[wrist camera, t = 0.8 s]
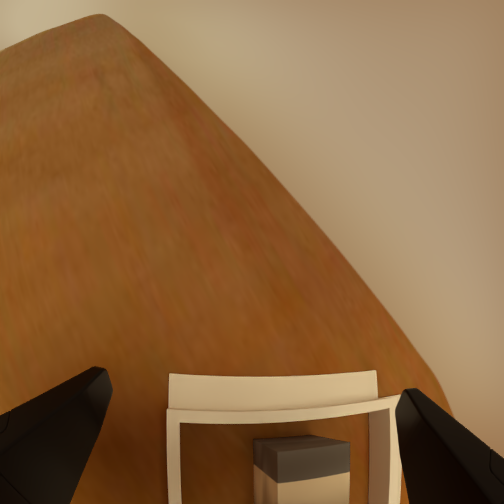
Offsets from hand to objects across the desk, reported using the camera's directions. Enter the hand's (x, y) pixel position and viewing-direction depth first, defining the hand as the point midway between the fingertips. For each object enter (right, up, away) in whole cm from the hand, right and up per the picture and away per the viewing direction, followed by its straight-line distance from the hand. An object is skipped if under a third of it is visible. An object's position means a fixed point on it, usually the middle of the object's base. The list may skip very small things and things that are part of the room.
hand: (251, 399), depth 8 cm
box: (+2, -14, +10) cm, 17 cm away
